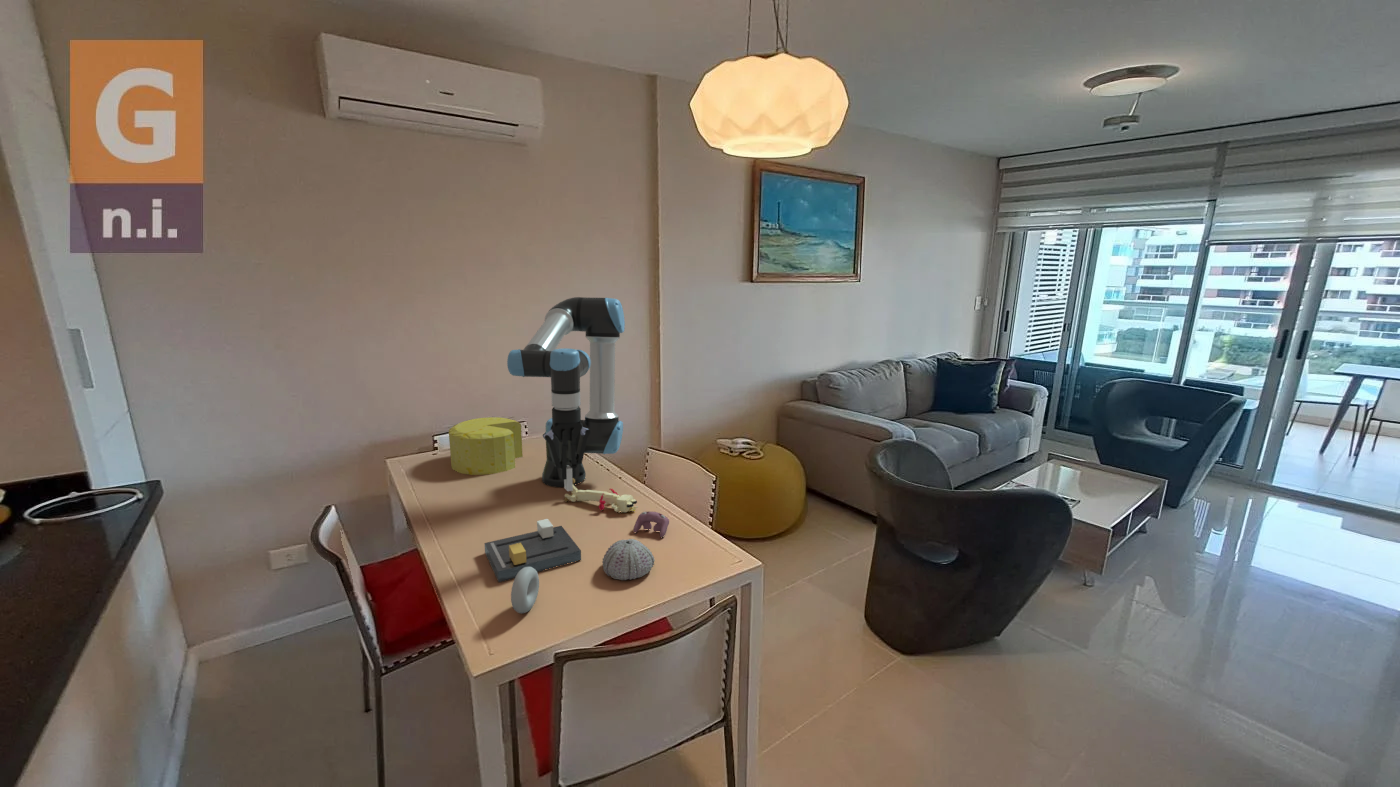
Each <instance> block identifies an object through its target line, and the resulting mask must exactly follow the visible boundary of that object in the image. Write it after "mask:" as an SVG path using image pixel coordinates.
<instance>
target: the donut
mask: <svg viewBox="0 0 1400 787" xmlns="http://www.w3.org/2000/svg"><path fill="white" fill-rule="evenodd" d="M539 590H540V578H539V572H537V571H536V570H535V569H534V568H532V567H524V568H522V569H521V570H520V571H519V572H518V574H517V575H516V577H515V578H514V579H513V582H512V587H511V591H510V602H511V606H512V609H513V610H514V611H515V612H516V613H518V614H526V613H528V612H529V611H530V610H531V609H532V608H533V607H534V606H535V605H534V604H536V601H537V598H538V596H539V595H538V594H539Z"/></svg>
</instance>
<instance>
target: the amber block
mask: <svg viewBox="0 0 1400 787" xmlns="http://www.w3.org/2000/svg"><path fill="white" fill-rule="evenodd" d="M509 556H510V558H511V560H512V562H513V564H514V565H517V564H521V563H525V562H526V551H525V549H524V547H523V546H522V544H521V543H517V544H513V545H509Z"/></svg>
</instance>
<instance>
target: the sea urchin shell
mask: <svg viewBox="0 0 1400 787" xmlns="http://www.w3.org/2000/svg"><path fill="white" fill-rule="evenodd" d="M652 552H653V551H651V550H650V549H649V547H648V546H646V545H645V544H643V543H642V542H641V541H639V540H637V539H635V538H628V539H620V540H617V541H615V542H614V543H612V545H610V547H608V548H607V550H606V552H605V554H604V555H603V558H602V561H601V562H602V565H601V566H602V568H603V571H604V573H605V574H606V575H607V577H610V576H611V577H610V578H613V579H614V580H618V581H619V580H621V581H627V580H630V581H631V580H636V579H637V578H638V579H639V578H642V577H643V576H645V575H646V574H649V572H650V571H652V568H654V565H655V562H656V561H655V557H654V555H653V553H652Z"/></svg>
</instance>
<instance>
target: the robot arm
mask: <svg viewBox="0 0 1400 787" xmlns="http://www.w3.org/2000/svg"><path fill="white" fill-rule="evenodd" d="M625 324H626V323H625V313H624V308H623V306H622V303H621V301H620V300H619V299H617V298H614V297H613V298H611V297H587V296H586V297H582V296H581V297H580V296H575V297H574V296H573V297H569V298H566V299H564V300H562V301H560V302H558V303H557V304H554V305H553V306H552V307H551V308H550V309H549V310H548V312H546V314H545V316H544V321H543V323H542V325H541V326H540V327H539V328H538V329H537V331H536V333H535V334H534V335H533V336H532V337H531V339H530V340H529V342H528V343H527V344H526V345H525V347H524V348H523V349H521V348H519V349H512V350H510V352H509V353H508V355H507V361H506V362H507V363H506V365H507V371H508V372H509V374H510V375H511V376H513V377H514V376H515V377H523V378H528V377H529V378H530V377H531V378H550V386H551V387H550V390H551V406H552V408H551V418H549V419H548V420H546V423H545V432H544V433H543V434H542V437H543V439H544V440H545V448H546V449H545V451H546V453H545V454H546V460H545V464H544V467H543V471H542V474H541V477H542V478H541V479H542V481H541V482H542V483H543V484H545V485H547V487H548V486H550V487H555V488H564V489H565V491H567V492H571V491H573V485H574V486H576V485H575V484H577V485H579V484H578V483H580V482H582V481H583V480H584V479H585V480H586V478H585V477H586V469H585V467H584V465H583V460H584V456H585V454H598V455H599V454H600V455H601V454H602V455H611V454H612V455H613V454H616V453H617V452H618V451H619V449H620V446H621V443H622V439H623V432H624V422H623V421H622V420H619V416H620V415H619V414H618V413H617V412H616V411H615V389H616V388H615V381H616V380H615V374H616V372H615V371H616V343H617V342H618V340H619V339H620V338H621V336H620V335H621V334H622V333H625V329H626V328H625V326H626V325H625ZM571 332H584V333H585V338H586V339H587V340H588V341H589V354H588V353H587V352H586V351H584V350H582V349H575V348H567V347H566V348H558V346H559V345H560V343H561V341H562V340H563V339H564V337H565V336H566V335H568V334H570V333H571ZM588 371H589V407H588V408H589V410H588V411H587V413H586V414H584V419H582V417H581V415H582V413H581V412H582V411H581V409H582V408H581V407H580V406H581V378H582V377H583V376H585V375H586V374H587V373H588ZM572 478H574V479H575V483H573V482H572ZM585 480H584V481H585ZM584 481H583V482H584ZM583 482H582V483H583ZM580 484H581V483H580Z"/></svg>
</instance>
